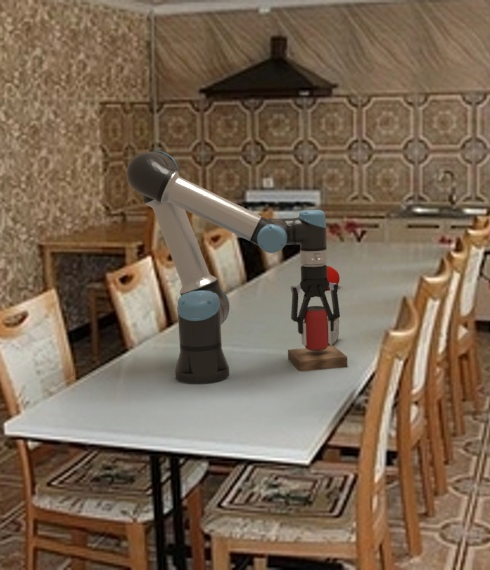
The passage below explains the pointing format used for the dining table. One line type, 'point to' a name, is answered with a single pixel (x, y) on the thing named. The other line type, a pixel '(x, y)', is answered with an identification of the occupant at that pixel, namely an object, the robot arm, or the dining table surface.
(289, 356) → the podium
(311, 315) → the beer can
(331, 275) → the tomato
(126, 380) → the dining table surface
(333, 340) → the tin
